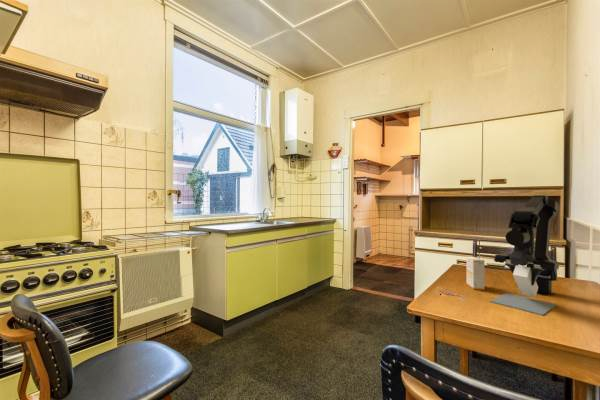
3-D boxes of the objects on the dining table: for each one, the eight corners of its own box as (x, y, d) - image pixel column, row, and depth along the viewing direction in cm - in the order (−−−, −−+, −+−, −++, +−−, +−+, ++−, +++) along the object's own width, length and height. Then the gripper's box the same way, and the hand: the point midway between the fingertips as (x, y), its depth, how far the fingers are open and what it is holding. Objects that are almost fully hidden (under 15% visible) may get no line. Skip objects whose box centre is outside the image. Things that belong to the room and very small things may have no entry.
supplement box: (485, 290, 124) (485, 260, 124) (473, 289, 125) (473, 259, 125) (477, 284, 132) (477, 256, 132) (466, 284, 133) (466, 256, 133)
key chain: (432, 294, 120) (432, 292, 120) (441, 290, 124) (441, 289, 124) (465, 303, 110) (465, 300, 110) (473, 299, 114) (473, 296, 114)
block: (524, 284, 115) (515, 265, 110) (538, 287, 111) (530, 267, 106) (521, 294, 113) (512, 274, 108) (535, 297, 109) (527, 277, 104)
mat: (506, 293, 119) (506, 292, 119) (556, 305, 106) (556, 304, 106) (490, 301, 110) (490, 300, 110) (542, 315, 97) (542, 314, 97)
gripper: (488, 242, 112) (488, 281, 112) (549, 248, 97) (549, 294, 97) (499, 239, 118) (500, 277, 118) (559, 245, 103) (559, 288, 103)
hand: (524, 283), depth 109 cm, fingers closed on block, 4 cm apart
